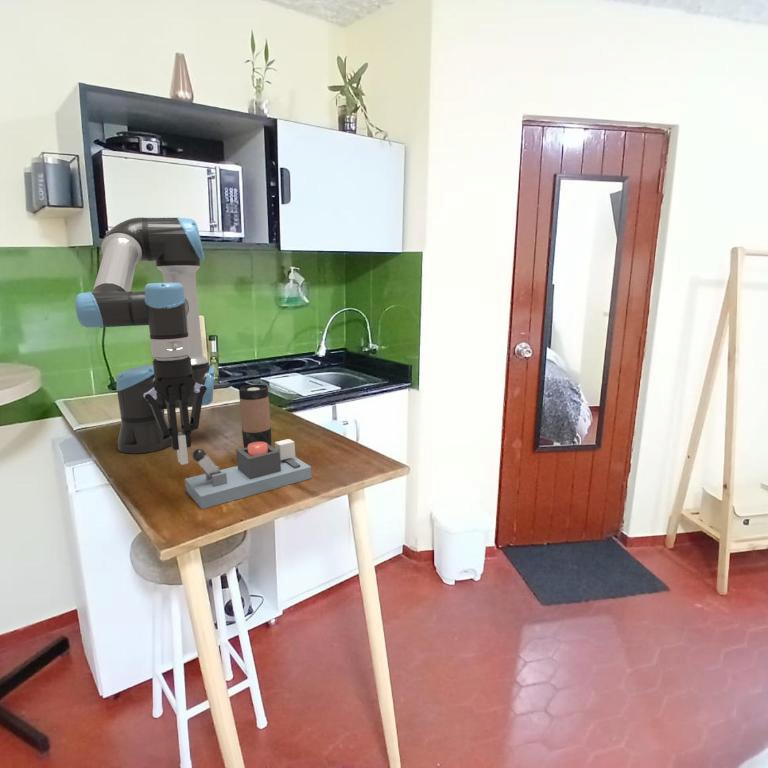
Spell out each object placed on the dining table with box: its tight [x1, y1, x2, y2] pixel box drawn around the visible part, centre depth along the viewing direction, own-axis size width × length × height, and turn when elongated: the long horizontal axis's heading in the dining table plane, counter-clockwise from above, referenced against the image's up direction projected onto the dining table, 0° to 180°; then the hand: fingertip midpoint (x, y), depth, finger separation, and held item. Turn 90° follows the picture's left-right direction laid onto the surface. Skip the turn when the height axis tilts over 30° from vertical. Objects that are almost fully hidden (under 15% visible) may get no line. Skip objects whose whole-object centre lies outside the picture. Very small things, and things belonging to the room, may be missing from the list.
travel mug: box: [238, 383, 273, 448], centre depth 140 cm, size 8×8×20 cm
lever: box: [192, 448, 221, 478], centre depth 118 cm, size 3×3×8 cm
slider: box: [274, 438, 296, 460], centre depth 131 cm, size 3×4×4 cm
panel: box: [184, 444, 313, 510], centre depth 124 cm, size 12×27×8 cm, turn 126°
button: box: [248, 442, 268, 456], centre depth 125 cm, size 5×5×6 cm
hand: (183, 462), depth 114 cm, fingers closed
